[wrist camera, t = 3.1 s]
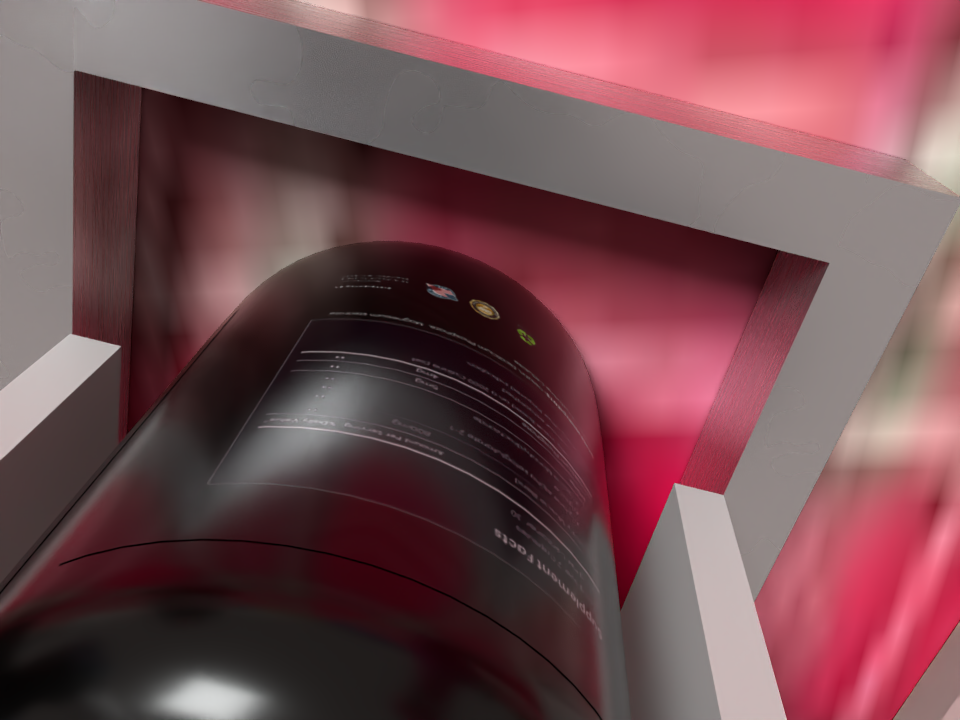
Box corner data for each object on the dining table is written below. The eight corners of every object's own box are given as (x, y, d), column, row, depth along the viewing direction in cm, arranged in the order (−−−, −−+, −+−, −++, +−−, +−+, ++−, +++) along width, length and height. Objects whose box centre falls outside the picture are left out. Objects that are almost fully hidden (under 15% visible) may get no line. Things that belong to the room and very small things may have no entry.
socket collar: (63, 587, 18) (7, 660, 16) (63, -59, 12) (-24, -57, 10) (637, 724, 18) (645, 811, 16) (905, 158, 12) (962, 198, 10)
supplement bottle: (491, 612, 17) (368, 1768, 6) (171, 469, 16) (-608, 1541, 5) (682, 343, 14) (1064, 1695, 3) (301, 147, 13) (-898, 1144, 2)
